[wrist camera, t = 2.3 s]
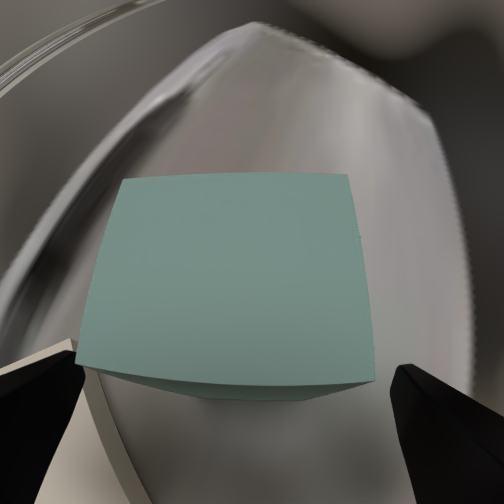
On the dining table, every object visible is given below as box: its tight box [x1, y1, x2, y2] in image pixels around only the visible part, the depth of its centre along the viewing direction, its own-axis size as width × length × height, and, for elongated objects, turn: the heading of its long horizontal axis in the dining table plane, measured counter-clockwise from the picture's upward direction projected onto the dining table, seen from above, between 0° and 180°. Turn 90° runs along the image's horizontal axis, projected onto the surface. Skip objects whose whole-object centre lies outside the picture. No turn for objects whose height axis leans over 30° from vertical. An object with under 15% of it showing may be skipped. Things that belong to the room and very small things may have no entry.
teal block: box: [75, 173, 376, 401], centre depth 11 cm, size 5×6×12 cm
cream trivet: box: [0, 338, 152, 504], centre depth 12 cm, size 12×12×2 cm
